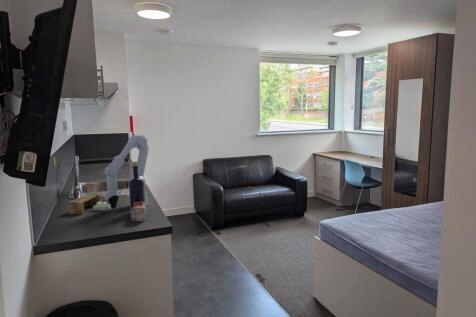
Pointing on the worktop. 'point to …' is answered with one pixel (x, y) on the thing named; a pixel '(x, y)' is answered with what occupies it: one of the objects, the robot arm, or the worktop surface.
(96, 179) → the worktop surface
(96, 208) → the tray
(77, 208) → the wooden arch bridge
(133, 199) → the bottle
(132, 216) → the food item
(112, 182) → the robot arm
